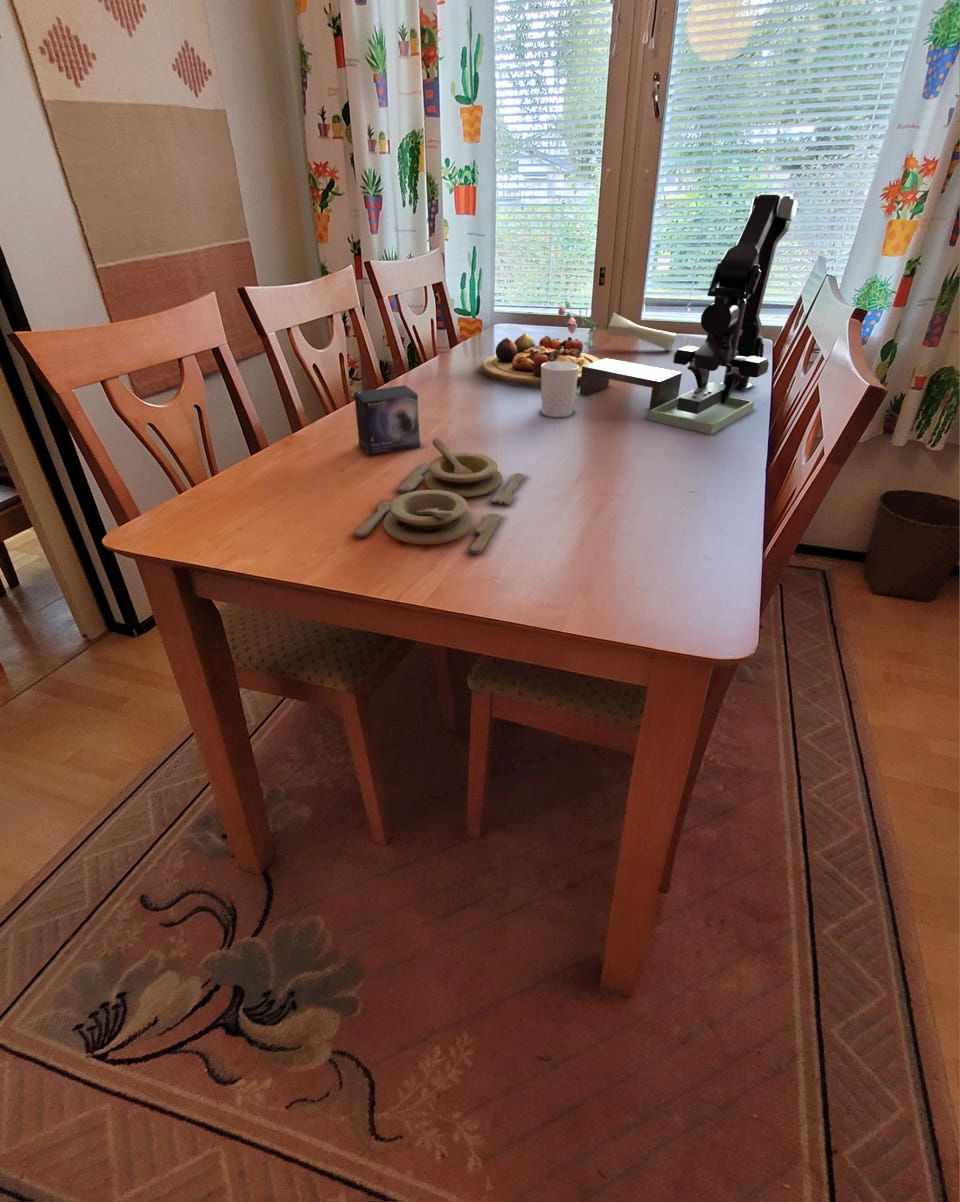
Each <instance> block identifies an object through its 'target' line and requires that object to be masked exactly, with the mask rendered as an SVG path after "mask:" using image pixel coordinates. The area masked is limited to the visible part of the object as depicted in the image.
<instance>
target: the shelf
mask: <svg viewBox="0 0 960 1202" xmlns="http://www.w3.org/2000/svg"><path fill="white" fill-rule="evenodd" d="M682 375H683V372H681V371H677V370H671V369H666V368H660V367H656V366H649V365H645V364H638V363H634V362H628V361H624V360H617V359H612V358H608V357H607V358H606V357H605V358H602V359H600V360H599V361H596V362H593V363H590V364H587V365H584V366H582V374H581V383H580V386H579V387H580V389H579V396H584V397H586V396H588V395H591V394H594V393H596V392H598V391H601V390H603V389H606V388H609V383H610V380H612V381H618V382H621V383H622V382H623V383H626V384H627V383H628V384H631V385H637V386H641V387H645V388H651V392H650V393H651V395H650V401H649V409H648V411H649V412H650V410H652V409H654V408H656V407H658V406H660V405H662V404H664V403H666V402H669V401H671V400H673V399H675V398H677V397H679V393H680V387H681V381H682Z"/></svg>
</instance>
